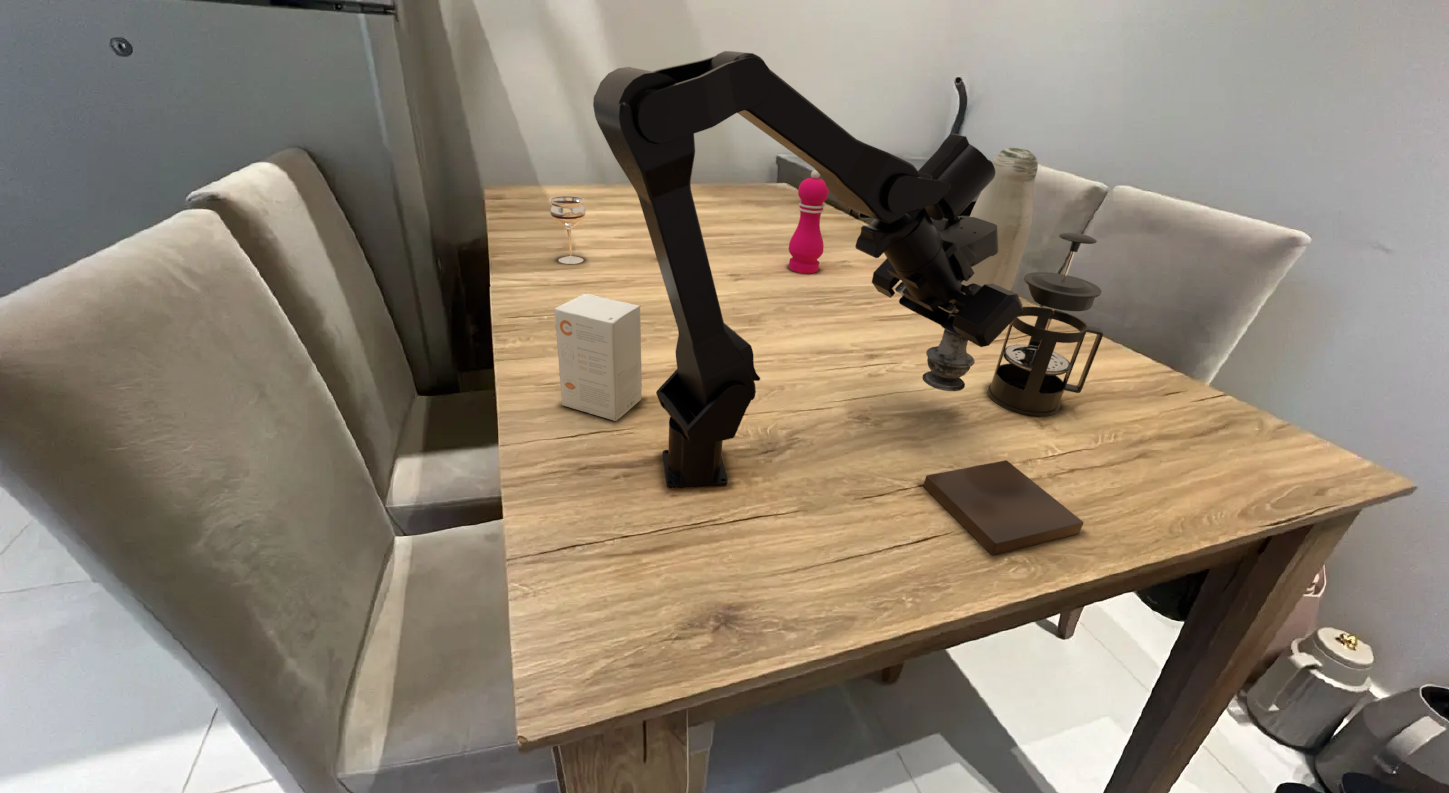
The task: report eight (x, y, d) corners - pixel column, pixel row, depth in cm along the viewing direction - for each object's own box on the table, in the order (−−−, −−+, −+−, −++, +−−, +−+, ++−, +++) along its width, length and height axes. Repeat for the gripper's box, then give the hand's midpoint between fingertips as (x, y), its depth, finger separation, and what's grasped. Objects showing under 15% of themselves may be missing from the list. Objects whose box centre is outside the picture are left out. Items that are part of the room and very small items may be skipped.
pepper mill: (780, 264, 134) (790, 166, 124) (808, 262, 137) (821, 166, 127) (797, 275, 128) (810, 173, 118) (827, 273, 131) (842, 173, 121)
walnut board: (1079, 533, 63) (1084, 522, 62) (991, 555, 60) (996, 543, 59) (1003, 470, 72) (1006, 459, 71) (922, 486, 68) (925, 475, 68)
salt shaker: (963, 397, 77) (990, 305, 71) (915, 383, 79) (938, 293, 73) (970, 379, 82) (997, 291, 76) (925, 366, 84) (947, 280, 78)
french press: (981, 405, 85) (1033, 237, 74) (982, 376, 93) (1029, 220, 82) (1075, 426, 82) (1145, 253, 70) (1069, 394, 90) (1130, 234, 78)
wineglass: (594, 259, 129) (592, 200, 123) (571, 267, 124) (567, 205, 118) (570, 253, 132) (566, 194, 126) (546, 260, 127) (541, 199, 121)
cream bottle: (1016, 311, 118) (1065, 153, 104) (973, 316, 114) (1018, 153, 101) (980, 293, 126) (1021, 144, 112) (938, 297, 122) (975, 144, 108)
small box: (642, 400, 81) (642, 305, 74) (615, 423, 76) (613, 323, 69) (589, 384, 83) (584, 291, 77) (560, 405, 78) (552, 308, 72)
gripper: (1039, 217, 60) (1076, 313, 70) (910, 178, 74) (956, 262, 84) (957, 302, 61) (1005, 385, 71) (845, 247, 75) (898, 323, 85)
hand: (964, 333), depth 78 cm, fingers closed on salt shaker, 3 cm apart
